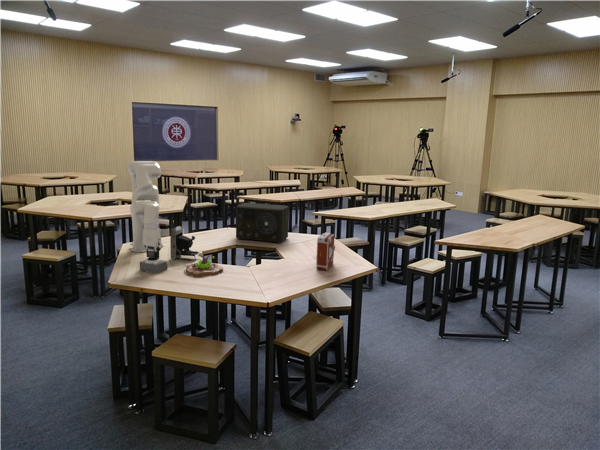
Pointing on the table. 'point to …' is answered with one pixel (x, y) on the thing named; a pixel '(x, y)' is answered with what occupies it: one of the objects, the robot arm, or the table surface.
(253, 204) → the vintage radio
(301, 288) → the table surface
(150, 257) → the lens
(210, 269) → the plant
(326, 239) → the cine camera
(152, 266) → the grey hollow block
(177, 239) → the vintage camera
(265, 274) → the table surface
